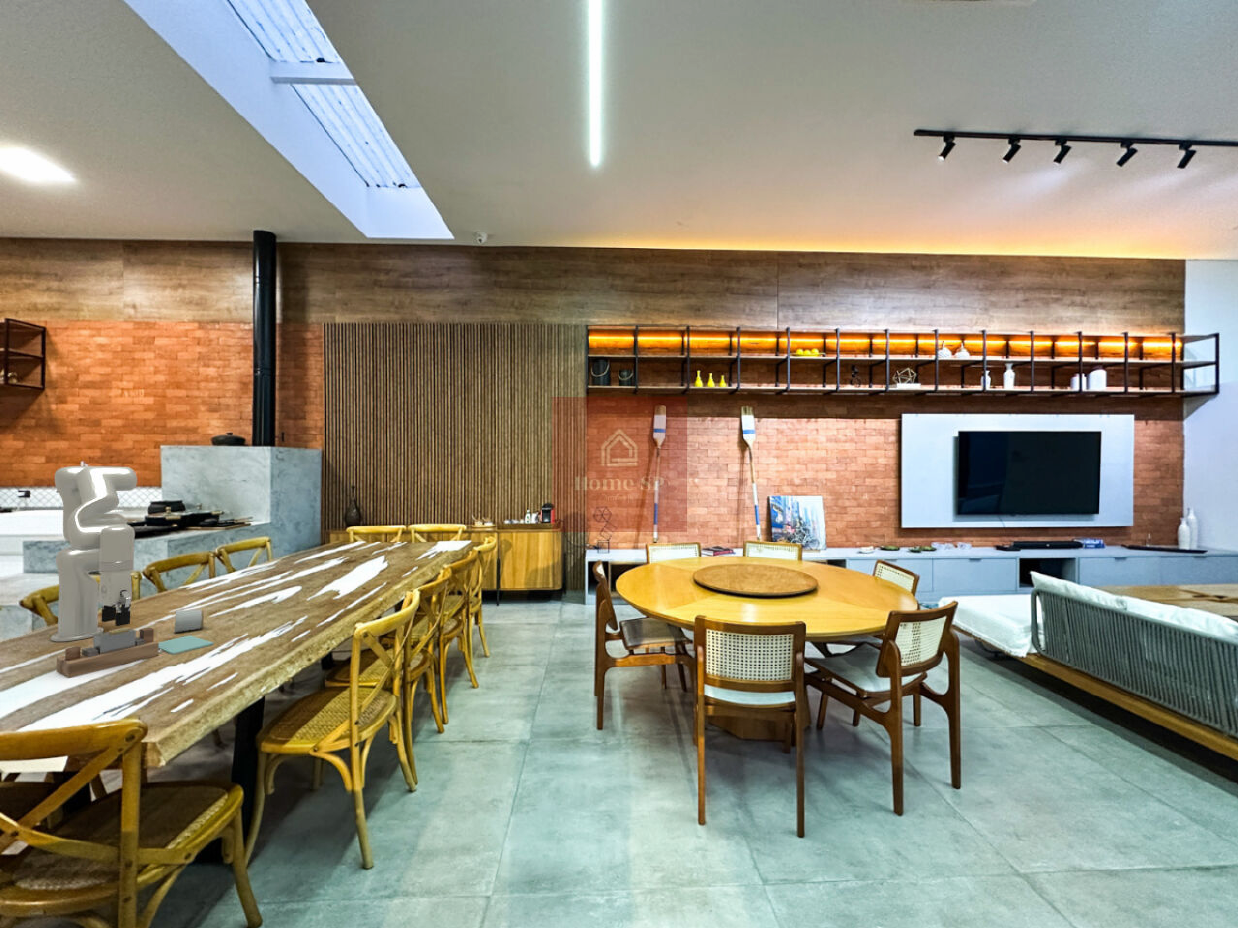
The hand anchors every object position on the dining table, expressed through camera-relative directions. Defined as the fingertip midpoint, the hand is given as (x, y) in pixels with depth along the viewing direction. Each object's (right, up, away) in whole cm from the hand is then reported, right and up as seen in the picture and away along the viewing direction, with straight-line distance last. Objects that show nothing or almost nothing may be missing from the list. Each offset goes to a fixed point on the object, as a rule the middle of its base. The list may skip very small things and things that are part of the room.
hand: (115, 622), depth 155 cm
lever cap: (-1, -8, 0) cm, 8 cm away
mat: (+7, -12, +15) cm, 21 cm away
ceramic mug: (-5, -13, +32) cm, 35 cm away
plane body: (-1, -12, -1) cm, 12 cm away
